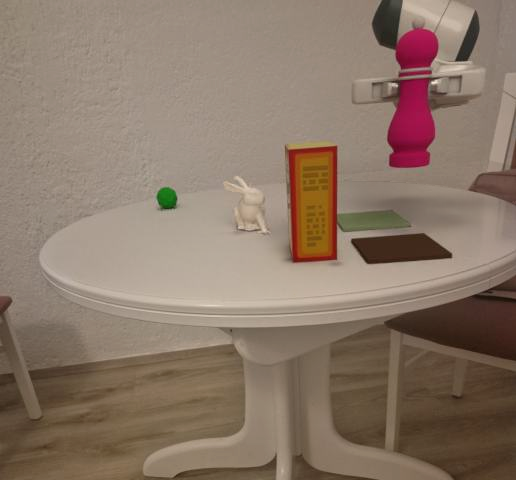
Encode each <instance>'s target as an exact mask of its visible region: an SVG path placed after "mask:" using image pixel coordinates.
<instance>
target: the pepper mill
mask: <svg viewBox="0 0 516 480" xmlns="http://www.w3.org/2000/svg"><path fill="white" fill-rule="evenodd" d="M424 25H425V19H424V18H423V17H422V16H417V17H416V18H415V19H414V20H413V22H412V27H413V29H414V30H411V31H409V32H407V33H405V34H404V35H403V36H402V37H401V38H400V40H399V41H398V43H397V46H396V50H395V53H394V54H395V60H396V63H398V65H399V68H401V70H399V71H398V73H399V75H398V78H397V80H400V97H399V102H398V106H397V108H396V109H395V111H394V114H393V116H392V117H391V118H392V119H391V121H390V123H389V126H388V129H387V134H386V135H387V136H386V141H387V144H388V145H389V147H390V148H391V149H392V152H391V153H390V154H389V156H388V166H389V167H390V168H397V169H413V168H415V169H416V168H421V167H428V166H429V165H430V162H431V152H430V151H428V148H429V147H430V146H431V145H432V144H433V142H434V140H435V139H436V124H435V120H434V116H433V114H432V112H431V111H430V107H429V103H428V85H429V79H430V78H432V77H433V75H432V70H433V67H430V66H431V63H432V62H433V61H434V59H435V58H436V56H437V54H438V48H439V44H438V39H437V37H436V35H435V34H434V33H433V32H432V31H430V30H427V29H422V28H423V27H424Z"/></svg>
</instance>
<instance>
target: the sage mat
mask: <svg viewBox="0 0 516 480" xmlns="http://www.w3.org/2000/svg"><path fill="white" fill-rule="evenodd" d="M337 226H338V227H339V228H340V229H341V231H342V232H343V233H344V232H345V233H346V232H356V231H358V232H359V231H370V230H371V231H373V230H385V229H399V228H410V227H411V226H412V223H411V222H410V221H408V220H407V219H406V218H404V217H403V216H402V215H400V214H399V213H398V212H396V211H395V210H393V209H384V210H371V211H370V210H369V211H358V212H357V211H356V212H345V213H343V212H342V213H337Z"/></svg>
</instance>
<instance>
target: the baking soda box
mask: <svg viewBox="0 0 516 480" xmlns="http://www.w3.org/2000/svg"><path fill="white" fill-rule="evenodd" d="M284 159H285V179H286V180H285V183H286V184H285V185H286V206H287V208H286V209H287V230H288V231H287V232H288V248H289V251H290V256H291V261H292V264H293V263H295V264H296V263H308V262H322V261H335V260H336V261H337V260H338V224H337V214H338V145H336V144H334V143H333V142H331V141H329V140H320V141H318V140H317V141H308V142H307V141H306V142H305V141H304V142H296V143H295V142H294V143H285V144H284Z"/></svg>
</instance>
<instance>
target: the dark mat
mask: <svg viewBox="0 0 516 480" xmlns="http://www.w3.org/2000/svg"><path fill="white" fill-rule="evenodd" d="M350 243H351V244H352V245H353V246H354V248H355V249H356V251H357V252H358V253H359V254H360V256H361V257H362V258H363V260H364V261H365V262H366V263H367V265H372V264H387V263H388V264H389V263H398V262H412V261H424V260H426V261H427V260H441V259H452V258H453V253H452V252H451V251H449V250H448V249H447V248H446V247H444V246H443V245H441V244H440V243H438V242H437V241H436V240H434V239H433V238H431V237H430V236H429V235H428V234H426V233H425V232H420V233H407V234H405V233H404V234H392V235H380V236H368V237H355V238H354V237H353V238H351V239H350Z"/></svg>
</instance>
